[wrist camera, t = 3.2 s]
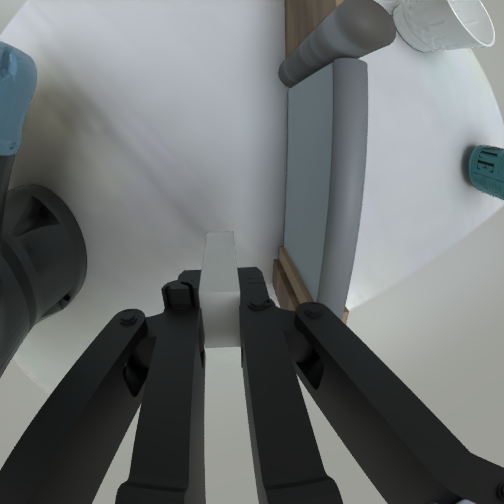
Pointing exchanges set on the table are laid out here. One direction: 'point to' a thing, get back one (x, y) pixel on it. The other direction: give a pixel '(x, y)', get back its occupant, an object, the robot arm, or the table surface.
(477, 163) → the beverage bottle
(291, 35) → the gate frame
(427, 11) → the white cup
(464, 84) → the table surface
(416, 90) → the table surface
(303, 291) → the gate panel
